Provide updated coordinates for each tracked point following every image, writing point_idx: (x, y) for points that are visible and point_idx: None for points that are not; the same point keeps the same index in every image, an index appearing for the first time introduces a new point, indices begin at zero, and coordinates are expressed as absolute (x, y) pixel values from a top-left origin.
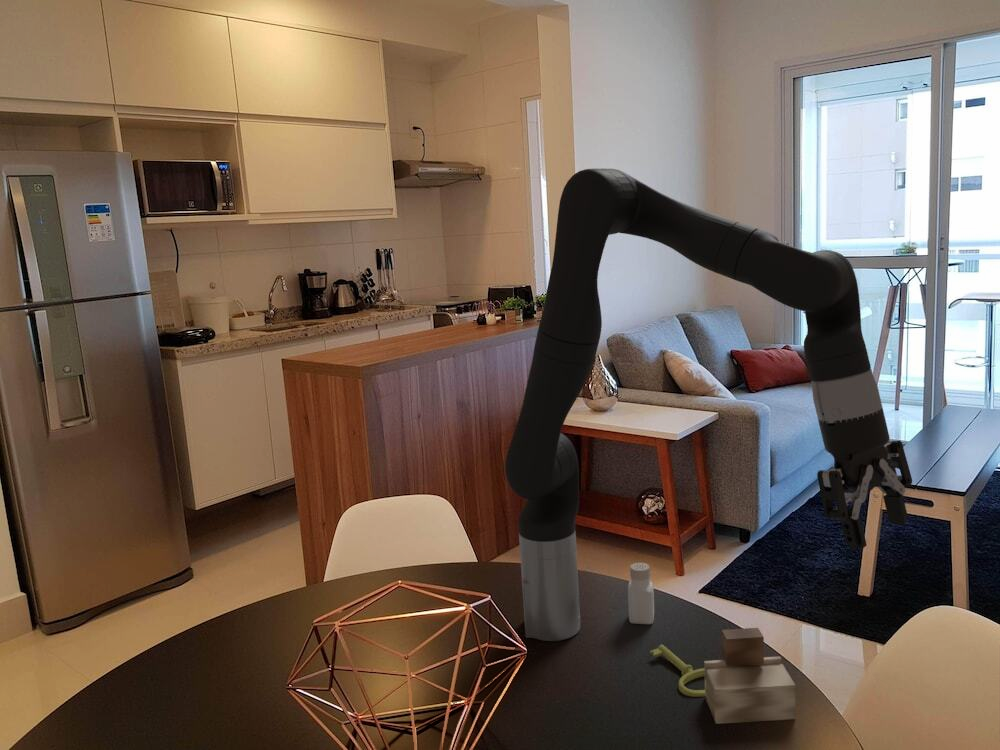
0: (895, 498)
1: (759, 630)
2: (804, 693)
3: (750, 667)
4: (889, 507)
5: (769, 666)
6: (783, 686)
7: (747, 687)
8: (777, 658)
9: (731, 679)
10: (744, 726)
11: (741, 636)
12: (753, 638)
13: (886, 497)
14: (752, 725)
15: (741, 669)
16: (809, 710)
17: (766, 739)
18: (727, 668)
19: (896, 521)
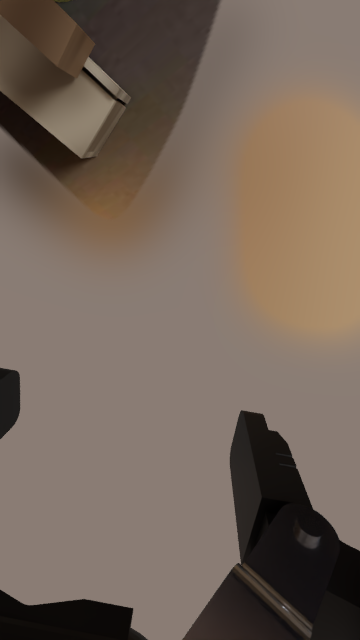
0: (242, 543)
1: (69, 37)
2: (157, 130)
3: None
4: (246, 466)
5: (90, 86)
6: (65, 144)
7: (11, 98)
8: (109, 89)
9: (3, 54)
10: None
11: (15, 18)
12: (37, 48)
13: (255, 507)
14: None
15: None
16: (127, 159)
17: (33, 152)
18: None
19: (237, 437)
